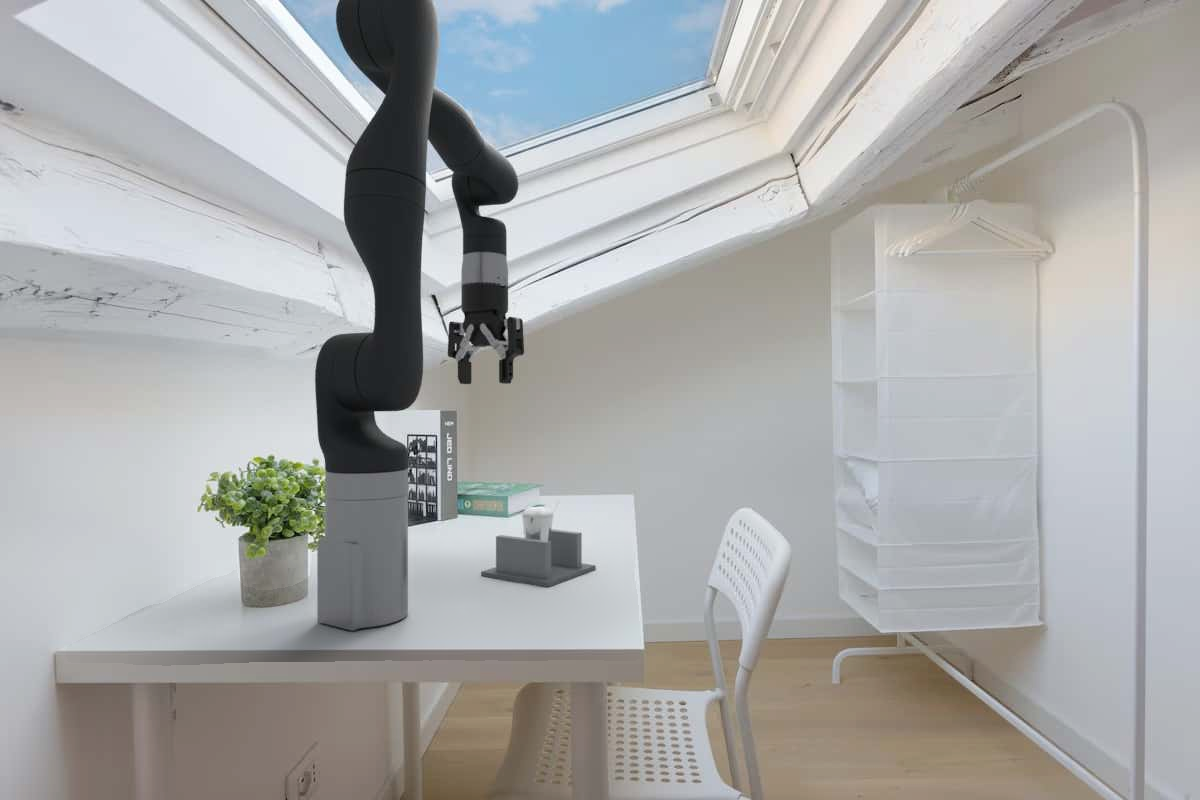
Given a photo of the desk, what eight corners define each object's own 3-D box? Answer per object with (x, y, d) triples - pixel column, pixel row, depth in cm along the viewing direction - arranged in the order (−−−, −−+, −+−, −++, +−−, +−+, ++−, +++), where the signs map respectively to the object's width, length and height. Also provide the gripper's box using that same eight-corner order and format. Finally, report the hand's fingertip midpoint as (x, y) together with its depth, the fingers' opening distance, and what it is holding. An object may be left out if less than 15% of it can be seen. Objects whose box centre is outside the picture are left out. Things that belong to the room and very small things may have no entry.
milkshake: (557, 572, 102) (557, 502, 102) (520, 572, 102) (520, 502, 102) (559, 565, 107) (559, 498, 107) (524, 565, 107) (524, 498, 107)
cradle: (548, 587, 96) (548, 545, 96) (481, 575, 103) (481, 537, 103) (595, 569, 107) (595, 532, 107) (531, 560, 113) (531, 524, 113)
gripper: (436, 284, 116) (436, 384, 116) (503, 276, 109) (504, 382, 109) (468, 290, 123) (468, 384, 123) (533, 283, 115) (534, 383, 115)
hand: (485, 383), depth 116 cm, fingers open, 8 cm apart
